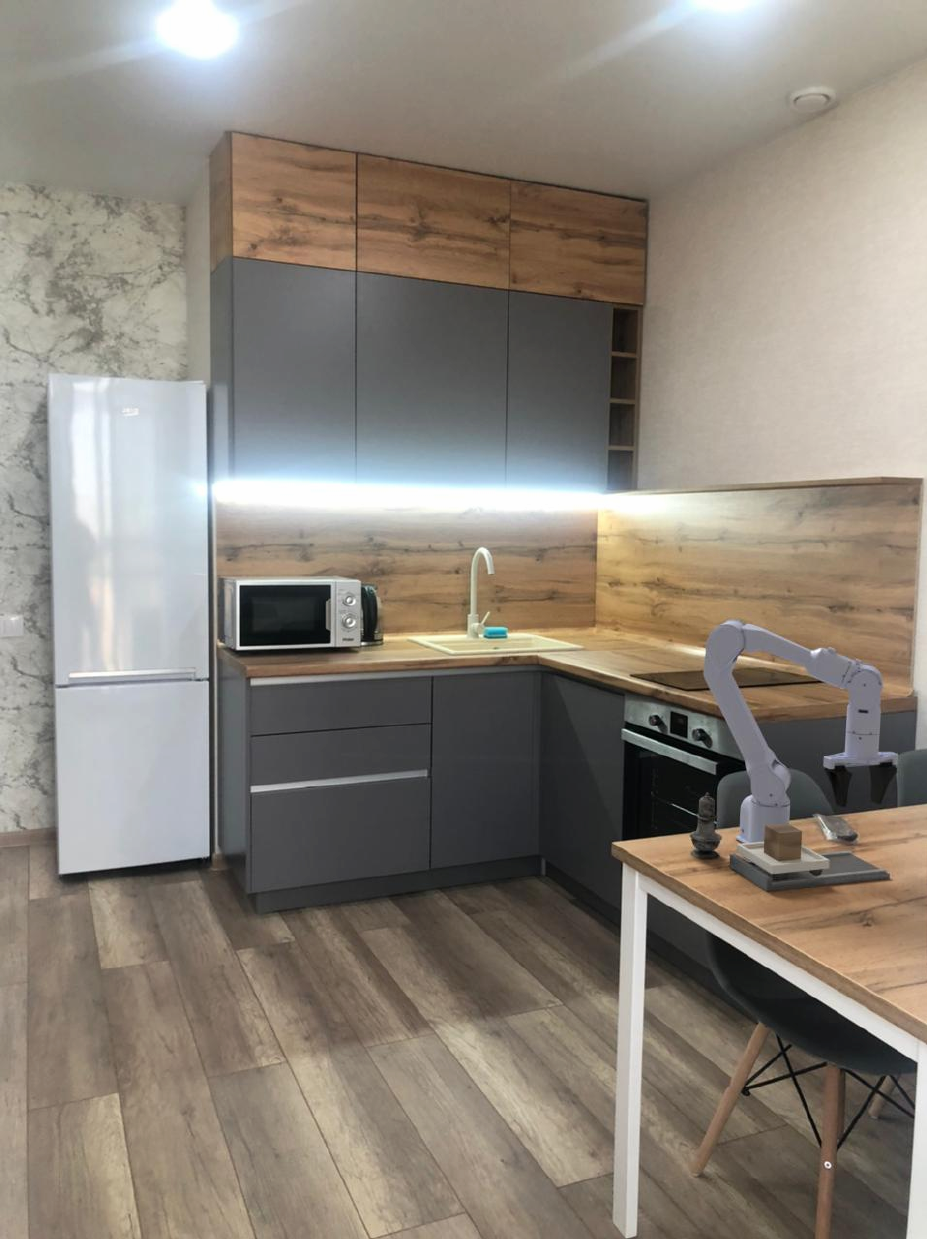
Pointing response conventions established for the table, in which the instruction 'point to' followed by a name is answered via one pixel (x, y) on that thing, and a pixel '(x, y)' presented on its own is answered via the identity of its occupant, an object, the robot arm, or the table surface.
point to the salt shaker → (705, 831)
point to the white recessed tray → (781, 868)
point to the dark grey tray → (840, 871)
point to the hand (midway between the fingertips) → (858, 804)
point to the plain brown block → (782, 842)
